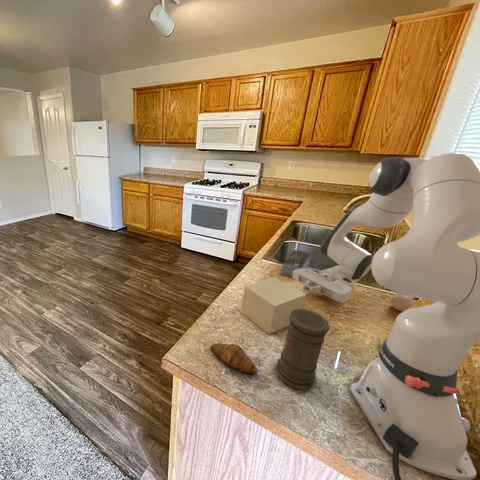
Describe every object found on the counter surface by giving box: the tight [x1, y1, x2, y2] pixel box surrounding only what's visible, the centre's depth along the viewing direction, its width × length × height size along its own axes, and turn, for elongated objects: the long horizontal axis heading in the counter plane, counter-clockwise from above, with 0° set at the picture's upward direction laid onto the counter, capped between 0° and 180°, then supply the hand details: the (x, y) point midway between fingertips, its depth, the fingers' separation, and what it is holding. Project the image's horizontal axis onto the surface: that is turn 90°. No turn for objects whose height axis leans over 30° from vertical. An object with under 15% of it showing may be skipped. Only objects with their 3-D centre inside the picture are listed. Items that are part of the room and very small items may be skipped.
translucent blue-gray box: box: [281, 249, 312, 278], centre depth 124 cm, size 8×19×7 cm, turn 140°
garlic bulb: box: [390, 292, 415, 312], centre depth 95 cm, size 7×6×8 cm
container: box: [275, 308, 330, 391], centre depth 66 cm, size 9×9×18 cm
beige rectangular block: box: [240, 276, 307, 335], centre depth 90 cm, size 15×13×11 cm
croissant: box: [210, 342, 258, 376], centre depth 72 cm, size 14×7×5 cm, turn 48°
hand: (306, 288), depth 97 cm, fingers closed
